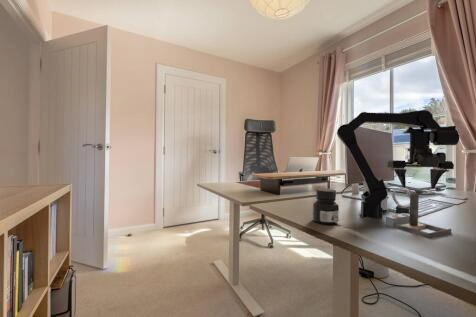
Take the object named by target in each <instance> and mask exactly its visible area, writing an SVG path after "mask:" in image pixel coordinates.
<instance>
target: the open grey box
mask: <svg viewBox="0 0 476 317" xmlns="http://www.w3.org/2000/svg"><path fill="white" fill-rule="evenodd" d="M418 223H420V224H424V225H426V228H425V229H429V230H432V231H431V232H428V231H423V230H422V229H418V230H417V229H414V228H410V227H407V226H403V225H400V224H397V223H395V224H394V227H393V228H396V229H399V230H402V231H406V232H409V233H411V234H415V235H418V236H422V237H425V238H428V239H432V238H433V239H434V238H438V237H441V236H442V237H443V236H446V235H450V234H452V228H446V227H445V228H444V227H440V226H437V225H432V224H429V223H425V222H421V221H418Z"/></svg>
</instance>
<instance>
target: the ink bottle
mask: <svg viewBox="0 0 476 317" xmlns="http://www.w3.org/2000/svg"><path fill="white" fill-rule="evenodd" d="M315 193H316V194H315V197H316V200H315V201H314V202H313V203H312V204H313V205H312V221H313V222H314V223H317V224H320V225H324V226H325V225H326V226H330V225H332V226H333V225H337V224H338V223H337V222H339V218H340V217H339V212H340V210H339V208H340V207H339V204H338V203H337V202H336V200H337V198H336V196H337V191H336V190H335V189H332V188H324V187H323V188H317V189H316V191H315Z"/></svg>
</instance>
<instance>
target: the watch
mask: <svg viewBox="0 0 476 317" xmlns="http://www.w3.org/2000/svg"><path fill="white" fill-rule="evenodd" d="M398 190H404V191H405V193H406V195H407V197H408V198H409V199H410V193H413V191H412V190H411V189H409V188H407V187H405V188H404V187H399V188H396V189H395V190H393V192H392V196H391V197H392V200H393V202H394V203H395V204H396V207H395V214H398V213H400V214H402V213H404V214H406V213H407V214H410V204H409V205H404V204H400V203H399V201H398V199H397V198H396V195H395V192H396V191H398Z"/></svg>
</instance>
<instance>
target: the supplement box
mask: <svg viewBox="0 0 476 317" xmlns="http://www.w3.org/2000/svg"><path fill="white" fill-rule="evenodd" d="M362 183H363V184H362V185H363V186H362V190H363V191H362V194H363V193H365V192H366V191H367V189H366V186H365V182H364V181H363V182H362ZM384 184H385V186H386V187H387V188H388V190H389V183H388V182H386V181H384ZM386 190H387V189H386ZM388 190H387V193H388V192H389V191H388ZM388 196H389V195H387V197H386V198H385V199H384V200H382V202H381V207H382V208H383V209H382V211H386V210H388Z"/></svg>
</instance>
